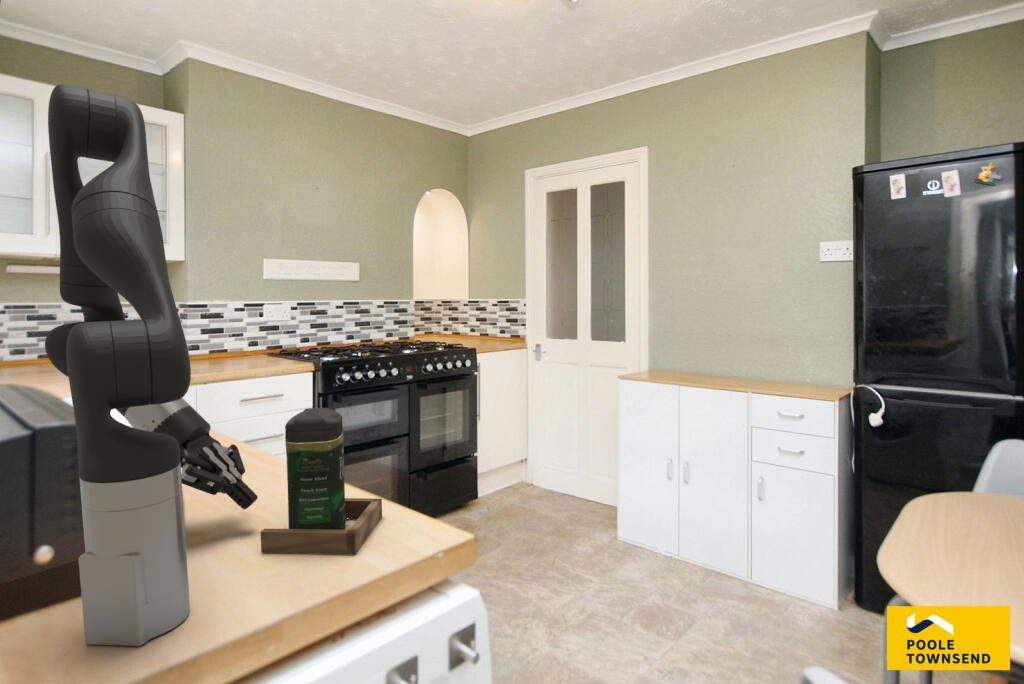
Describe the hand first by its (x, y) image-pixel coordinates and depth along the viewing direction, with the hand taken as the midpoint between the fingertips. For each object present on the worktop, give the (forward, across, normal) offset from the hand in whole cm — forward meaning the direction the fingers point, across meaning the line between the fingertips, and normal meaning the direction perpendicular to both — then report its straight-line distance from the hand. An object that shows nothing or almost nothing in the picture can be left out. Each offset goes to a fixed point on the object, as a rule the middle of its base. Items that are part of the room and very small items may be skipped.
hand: (251, 503), depth 90 cm
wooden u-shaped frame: (+11, 0, -4) cm, 11 cm away
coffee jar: (+10, 0, -4) cm, 11 cm away
